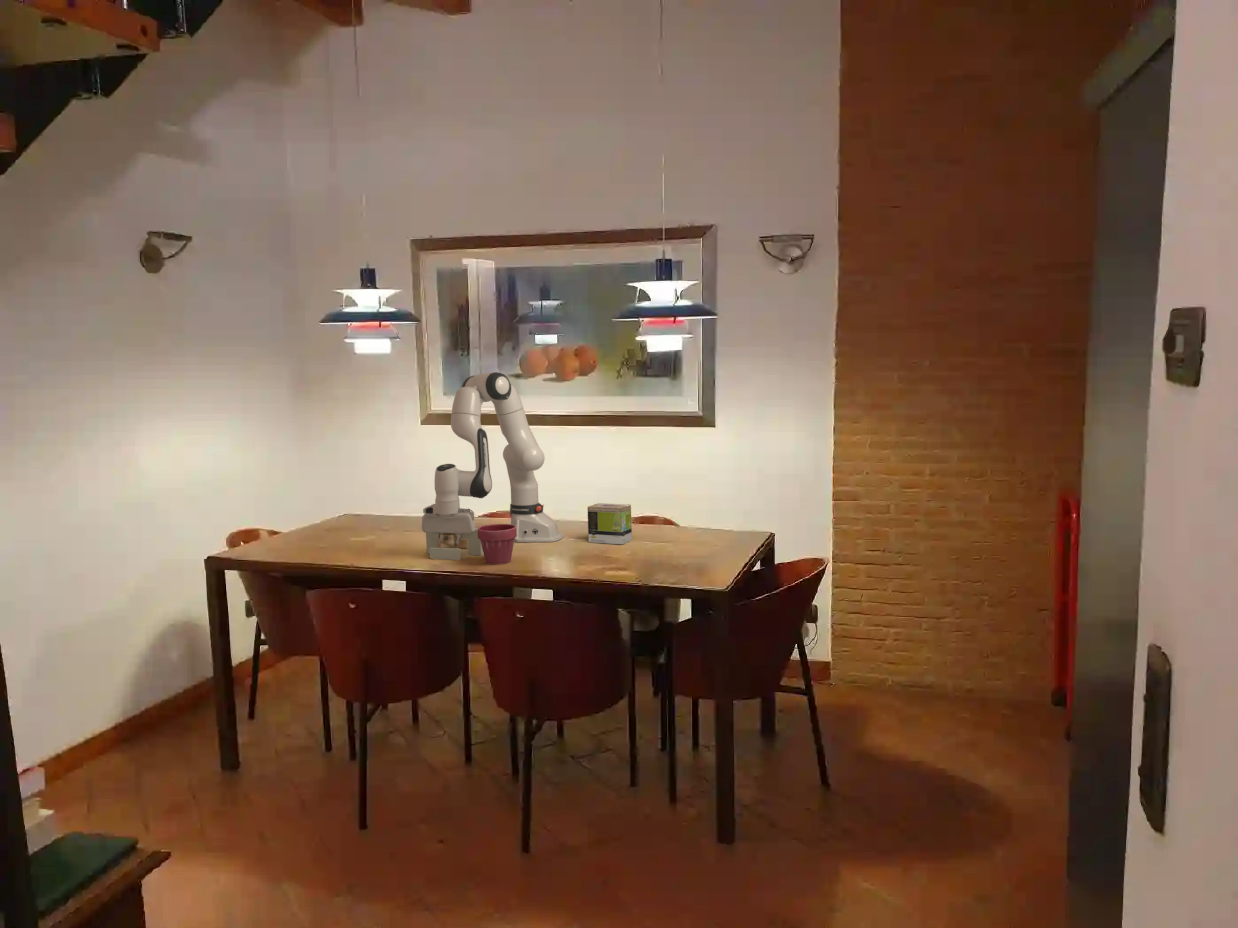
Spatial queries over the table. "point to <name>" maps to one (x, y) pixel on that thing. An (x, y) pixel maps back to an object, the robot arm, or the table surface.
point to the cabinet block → (448, 540)
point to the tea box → (609, 523)
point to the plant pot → (497, 542)
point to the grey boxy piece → (466, 547)
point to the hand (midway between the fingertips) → (449, 544)
